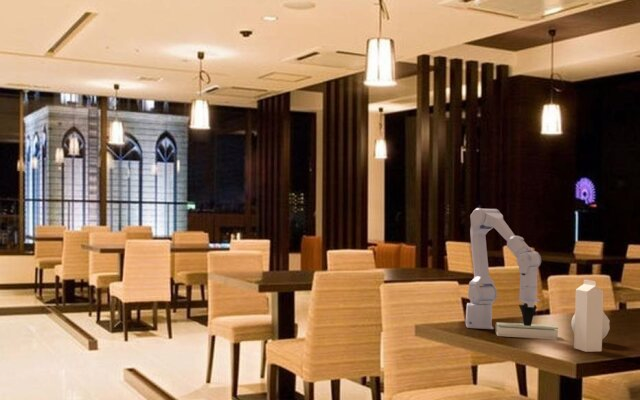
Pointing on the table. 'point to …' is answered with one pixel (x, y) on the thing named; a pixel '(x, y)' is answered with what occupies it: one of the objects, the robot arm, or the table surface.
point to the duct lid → (526, 326)
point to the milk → (588, 317)
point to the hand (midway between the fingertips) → (527, 325)
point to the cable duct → (527, 332)
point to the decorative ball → (604, 325)
